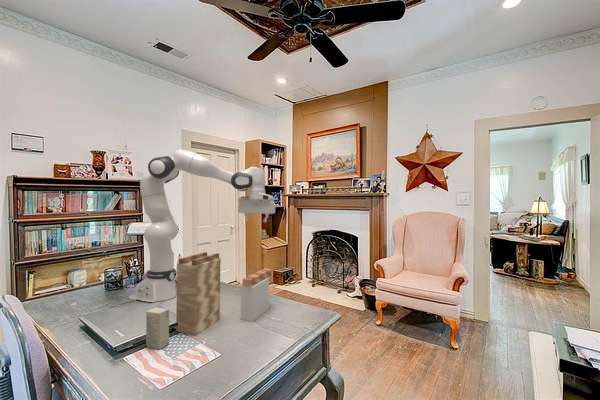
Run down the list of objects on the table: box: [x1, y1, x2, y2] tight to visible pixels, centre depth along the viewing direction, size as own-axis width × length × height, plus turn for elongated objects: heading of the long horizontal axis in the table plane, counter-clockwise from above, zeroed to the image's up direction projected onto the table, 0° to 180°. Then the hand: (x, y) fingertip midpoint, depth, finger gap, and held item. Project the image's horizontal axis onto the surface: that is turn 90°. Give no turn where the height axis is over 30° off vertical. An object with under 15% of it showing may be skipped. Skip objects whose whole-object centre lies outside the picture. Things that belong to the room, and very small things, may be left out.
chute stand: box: [175, 251, 221, 337], centre depth 113 cm, size 15×9×28 cm, turn 161°
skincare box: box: [145, 306, 170, 350], centre depth 98 cm, size 6×4×12 cm
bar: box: [242, 268, 272, 287], centre depth 128 cm, size 20×4×3 cm, turn 161°
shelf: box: [239, 277, 270, 323], centre depth 126 cm, size 15×6×14 cm, turn 161°
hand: (256, 222), depth 152 cm, fingers open, 8 cm apart
